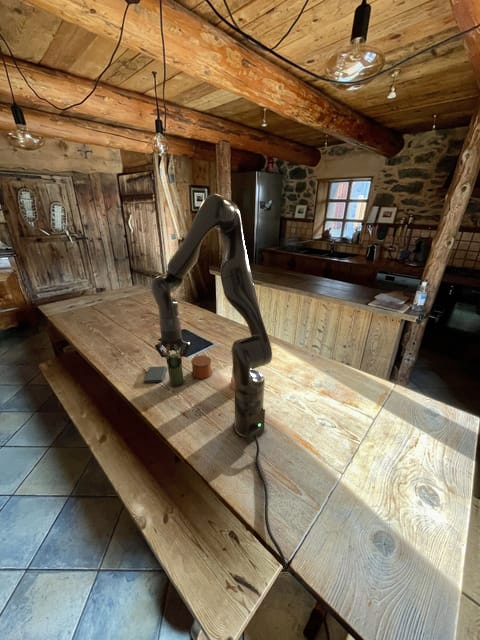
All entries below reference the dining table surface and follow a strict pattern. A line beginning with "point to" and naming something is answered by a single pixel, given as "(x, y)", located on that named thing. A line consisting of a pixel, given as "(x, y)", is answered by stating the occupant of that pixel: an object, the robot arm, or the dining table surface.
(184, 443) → the dining table surface
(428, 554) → the dining table surface
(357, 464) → the dining table surface
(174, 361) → the green bottle
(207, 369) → the copper tin
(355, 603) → the dining table surface
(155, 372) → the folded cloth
